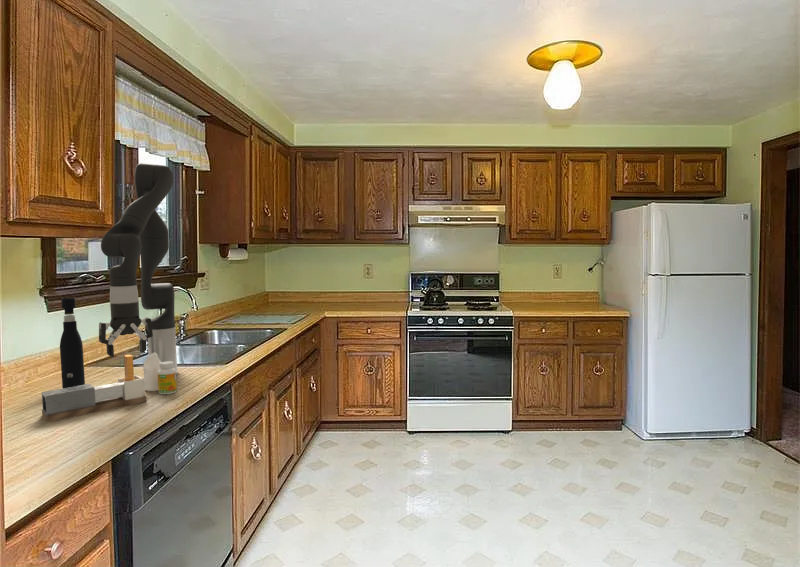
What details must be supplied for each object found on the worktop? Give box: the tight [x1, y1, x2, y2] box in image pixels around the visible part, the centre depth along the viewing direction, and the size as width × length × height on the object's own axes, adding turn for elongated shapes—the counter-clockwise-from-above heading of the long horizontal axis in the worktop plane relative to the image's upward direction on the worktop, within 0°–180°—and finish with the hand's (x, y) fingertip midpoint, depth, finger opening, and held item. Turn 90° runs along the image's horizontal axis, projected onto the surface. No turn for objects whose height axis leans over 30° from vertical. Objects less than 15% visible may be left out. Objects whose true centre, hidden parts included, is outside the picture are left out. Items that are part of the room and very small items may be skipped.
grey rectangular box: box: [41, 383, 96, 416], centre depth 148 cm, size 12×5×5 cm, turn 134°
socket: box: [117, 374, 146, 400], centre depth 159 cm, size 6×6×5 cm
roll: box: [143, 352, 161, 392], centre depth 172 cm, size 6×12×6 cm
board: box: [41, 395, 147, 423], centre depth 153 cm, size 25×8×2 cm, turn 134°
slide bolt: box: [93, 354, 135, 402], centre depth 155 cm, size 14×4×12 cm, turn 134°
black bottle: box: [59, 297, 86, 389], centre depth 175 cm, size 6×6×30 cm
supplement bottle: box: [157, 361, 178, 395], centre depth 168 cm, size 5×5×10 cm
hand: (127, 354), depth 158 cm, fingers open, 8 cm apart
